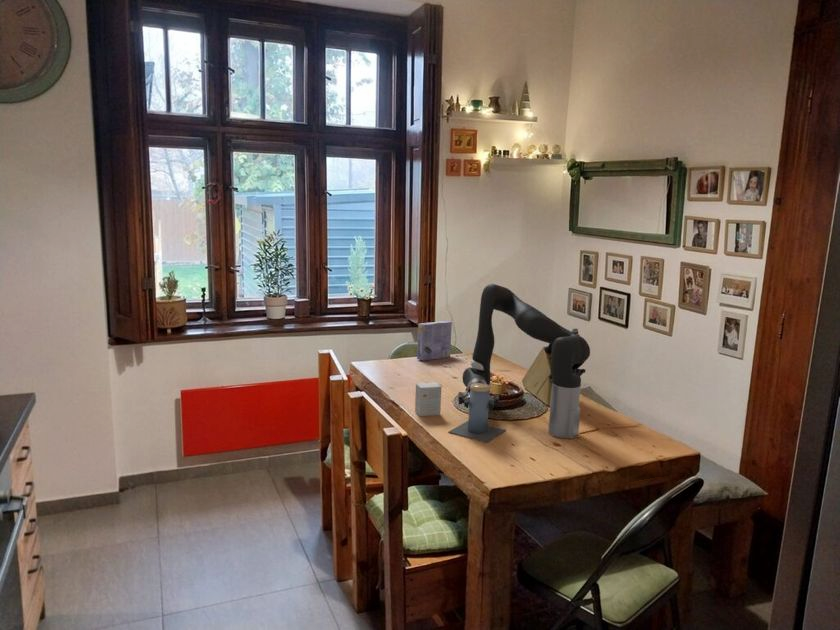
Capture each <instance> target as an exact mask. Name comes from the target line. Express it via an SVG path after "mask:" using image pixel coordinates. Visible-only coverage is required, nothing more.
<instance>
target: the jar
mask: <svg viewBox="0 0 840 630" xmlns="http://www.w3.org/2000/svg"><path fill="white" fill-rule="evenodd" d="M490 393H491V385H487V384H482V383H474V384H471V385H470V403H469V408H468V420H467V421H468V431H470V432H472V433H479V434H480V433H486V432H487V425H489V424H488V423H489V411H490V410H489V396H490V395H491V394H490Z"/></svg>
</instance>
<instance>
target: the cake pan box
mask: <svg viewBox="0 0 840 630" xmlns="http://www.w3.org/2000/svg"><path fill="white" fill-rule="evenodd" d="M417 324H418V325H417V326H418V327H417V350H416V359H417V360H419V361H422V362H424V361H430V360H440V359H443V358H450V357H451V348H452V347H451V346H452V344H451V343H452V325H453V323H452V321H447V320H445V321H444V320H443V321H434V322H432V321H431V322H424V323H423V322H421V323H417Z"/></svg>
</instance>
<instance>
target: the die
mask: <svg viewBox="0 0 840 630" xmlns="http://www.w3.org/2000/svg"><path fill="white" fill-rule="evenodd" d="M470 366H471V368H475V369H480V370H483V366H482V365H481V364H480V363H477V362H475V361H474V360H473V359H472V360H471V363H470Z"/></svg>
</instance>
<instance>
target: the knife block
mask: <svg viewBox="0 0 840 630" xmlns="http://www.w3.org/2000/svg"><path fill="white" fill-rule="evenodd" d="M571 330H572V331H571V332H573V333H575V334H577V335H579V336H581V335H580V333H579V329H578V328H577V327H574V328H572V329H571ZM552 345H553V344H550V343H548V345H547V346H543V347H542V348H541V350H540V351H539V352H538V354H537V356H536V358H535V359H534V361H533V362H532V364H531V365H530V366H529V368H528V370H527V371H526V372H525V375H524V376H523V378H522V380H521V382H522V386H523V388H525V390H526V391H528V392H529V393H531V394H532V395H534V396H535V397H536V398H537V399H539V400H540V401H541V402H542V403H544V404H545V405H546V406H549V407H550V402H551V390H552V375H551V351H552ZM585 362H586V361H584V362H582V363H578V364H572V373H574V374H576V375H579V376H580V377H581V376H582V375H583V374H585V373H586V369H585V368H580V367H581V366H583V364H584V363H585Z"/></svg>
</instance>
